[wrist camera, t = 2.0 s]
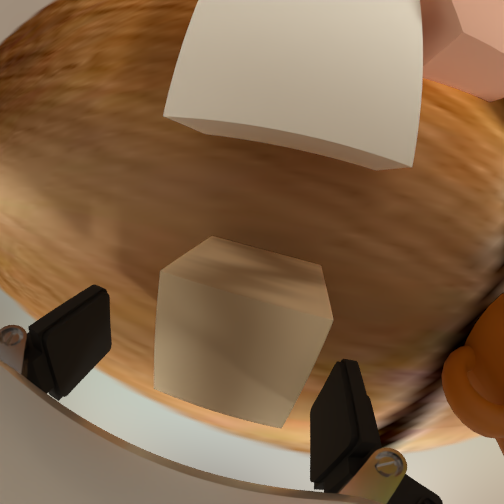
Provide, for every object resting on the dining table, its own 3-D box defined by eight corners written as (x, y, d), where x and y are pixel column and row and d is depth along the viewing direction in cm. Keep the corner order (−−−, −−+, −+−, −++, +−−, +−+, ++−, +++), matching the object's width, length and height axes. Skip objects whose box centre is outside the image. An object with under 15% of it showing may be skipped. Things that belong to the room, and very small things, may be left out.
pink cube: (471, 29, 8) (513, -4, 2) (489, 102, 9) (548, 85, 4) (396, 1, 9) (424, -52, 3) (412, 75, 10) (463, 32, 5)
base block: (391, 32, 10) (418, -11, 5) (374, 170, 12) (412, 167, 8) (240, 5, 11) (218, -44, 6) (206, 134, 13) (163, 116, 9)
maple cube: (320, 264, 14) (333, 320, 8) (289, 354, 16) (281, 428, 10) (212, 235, 15) (160, 270, 9) (196, 327, 16) (153, 388, 11)
